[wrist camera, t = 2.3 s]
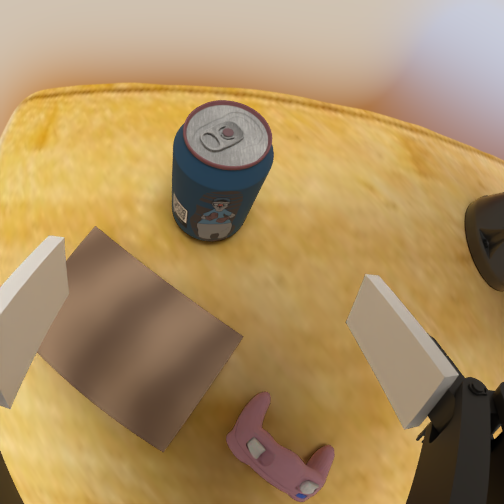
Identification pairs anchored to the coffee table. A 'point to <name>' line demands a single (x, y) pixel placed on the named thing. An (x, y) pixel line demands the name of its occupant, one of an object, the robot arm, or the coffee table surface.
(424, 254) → the coffee table surface
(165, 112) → the coffee table surface
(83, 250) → the walnut board
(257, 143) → the soda can
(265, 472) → the video game controller
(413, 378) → the robot arm
